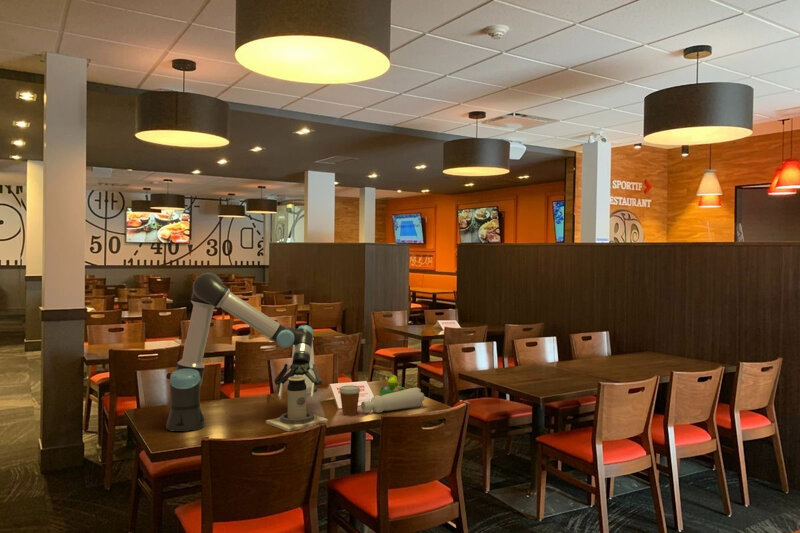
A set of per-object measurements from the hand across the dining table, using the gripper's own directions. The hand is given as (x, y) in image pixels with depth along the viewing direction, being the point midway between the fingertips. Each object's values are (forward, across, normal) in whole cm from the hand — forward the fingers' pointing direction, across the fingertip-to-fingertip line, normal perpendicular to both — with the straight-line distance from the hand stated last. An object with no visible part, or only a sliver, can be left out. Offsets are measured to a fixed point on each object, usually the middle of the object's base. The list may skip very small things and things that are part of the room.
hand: (295, 397), depth 259 cm
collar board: (+6, 0, -10) cm, 11 cm away
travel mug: (+6, 0, -9) cm, 10 cm away
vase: (-34, +7, -50) cm, 60 cm away
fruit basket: (-24, -40, -41) cm, 62 cm away
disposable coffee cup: (-4, -21, -20) cm, 29 cm away
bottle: (-8, -40, -25) cm, 48 cm away
